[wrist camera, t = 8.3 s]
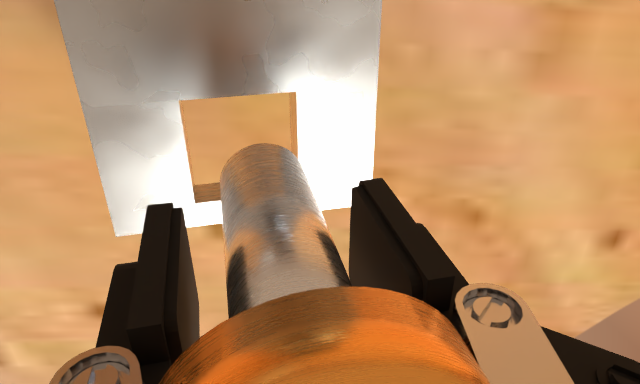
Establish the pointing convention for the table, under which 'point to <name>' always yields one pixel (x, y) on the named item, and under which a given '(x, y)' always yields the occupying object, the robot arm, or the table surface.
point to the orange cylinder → (308, 298)
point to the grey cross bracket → (220, 90)
